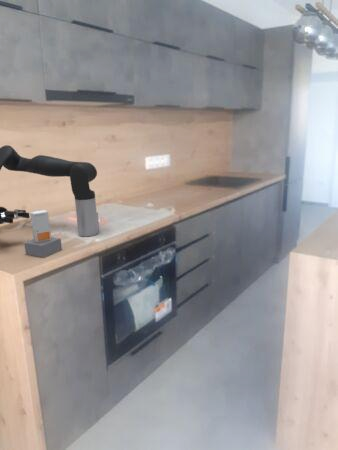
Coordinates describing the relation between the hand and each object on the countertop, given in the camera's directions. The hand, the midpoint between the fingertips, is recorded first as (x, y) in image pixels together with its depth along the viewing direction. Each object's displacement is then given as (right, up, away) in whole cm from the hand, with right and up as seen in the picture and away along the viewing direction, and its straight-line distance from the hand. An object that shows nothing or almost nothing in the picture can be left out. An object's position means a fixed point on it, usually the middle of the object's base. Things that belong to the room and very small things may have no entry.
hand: (20, 218), depth 152 cm
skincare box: (+10, -9, -2) cm, 14 cm away
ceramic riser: (+10, -14, -1) cm, 17 cm away
